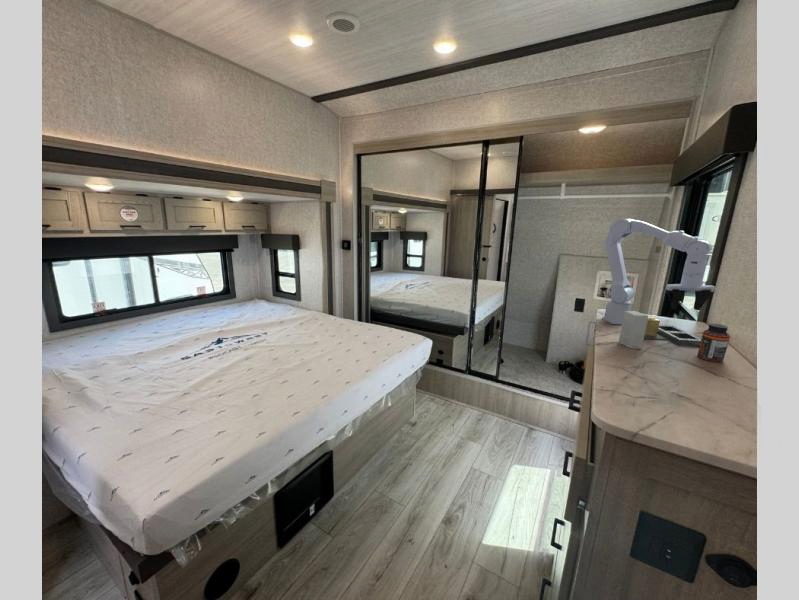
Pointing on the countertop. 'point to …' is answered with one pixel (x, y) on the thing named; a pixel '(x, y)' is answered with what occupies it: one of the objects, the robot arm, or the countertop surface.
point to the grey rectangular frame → (678, 335)
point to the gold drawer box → (652, 327)
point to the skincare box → (633, 329)
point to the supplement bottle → (714, 343)
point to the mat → (655, 337)
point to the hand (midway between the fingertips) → (685, 309)
